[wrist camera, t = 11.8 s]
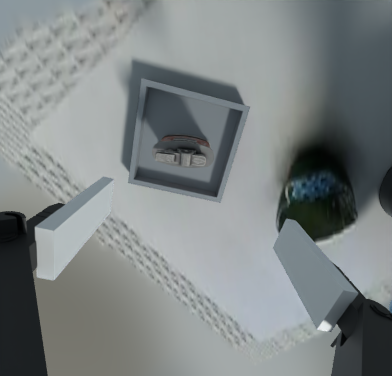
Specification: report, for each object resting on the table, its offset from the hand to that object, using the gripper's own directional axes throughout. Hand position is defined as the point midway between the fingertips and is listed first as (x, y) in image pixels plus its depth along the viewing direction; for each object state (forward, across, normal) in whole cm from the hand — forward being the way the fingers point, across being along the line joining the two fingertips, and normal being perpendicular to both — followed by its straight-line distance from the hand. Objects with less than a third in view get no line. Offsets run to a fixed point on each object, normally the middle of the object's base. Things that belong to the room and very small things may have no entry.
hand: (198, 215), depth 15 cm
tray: (+21, +2, -1) cm, 21 cm away
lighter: (+20, +2, -1) cm, 21 cm away
